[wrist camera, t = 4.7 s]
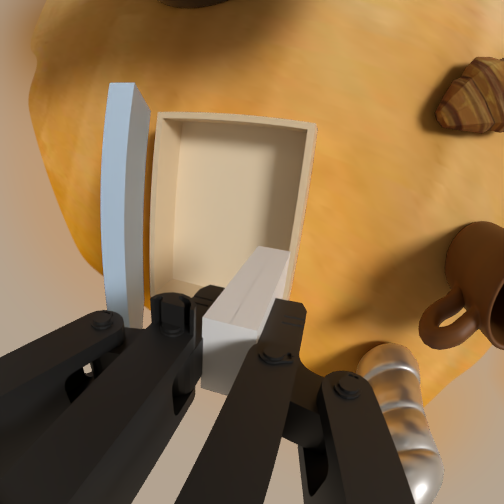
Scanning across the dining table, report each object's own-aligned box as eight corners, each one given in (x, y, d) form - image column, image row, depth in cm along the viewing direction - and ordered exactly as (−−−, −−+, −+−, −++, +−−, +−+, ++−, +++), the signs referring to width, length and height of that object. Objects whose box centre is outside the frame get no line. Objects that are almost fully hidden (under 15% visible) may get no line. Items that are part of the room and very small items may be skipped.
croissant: (452, 159, 20) (478, 161, 15) (413, 88, 19) (431, 73, 14) (539, 109, 15) (568, 105, 10) (507, 46, 14) (532, 32, 10)
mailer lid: (150, 111, 20) (138, 110, 20) (134, 82, 9) (109, 82, 9) (144, 299, 25) (133, 299, 25) (140, 401, 15) (124, 401, 14)
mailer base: (181, 116, 24) (157, 111, 21) (317, 129, 22) (316, 123, 18) (170, 280, 30) (150, 296, 26) (287, 307, 28) (280, 330, 24)
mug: (410, 326, 25) (434, 393, 16) (389, 257, 24) (416, 309, 15) (510, 278, 21) (559, 324, 12) (498, 206, 20) (559, 233, 11)
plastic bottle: (356, 388, 29) (348, 563, 10) (350, 340, 27) (344, 543, 9) (413, 378, 27) (439, 547, 8) (413, 327, 25) (466, 519, 7)
